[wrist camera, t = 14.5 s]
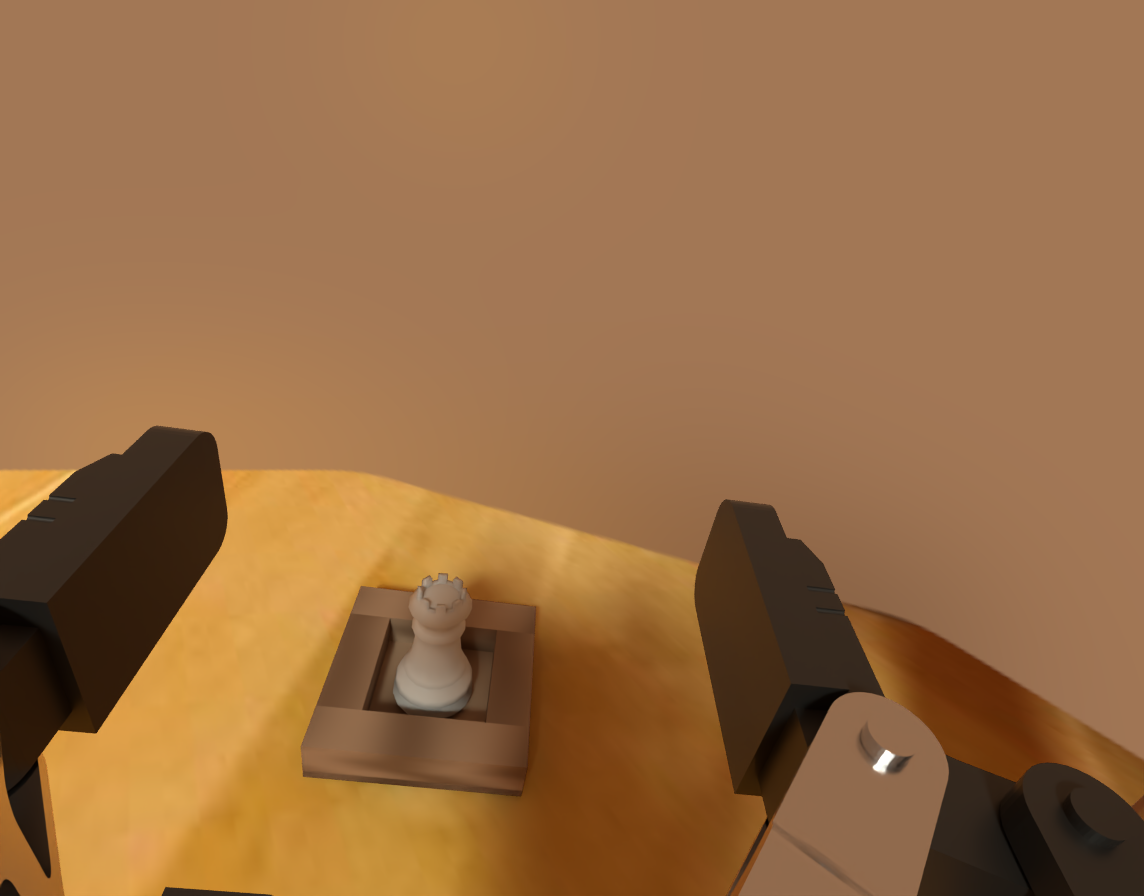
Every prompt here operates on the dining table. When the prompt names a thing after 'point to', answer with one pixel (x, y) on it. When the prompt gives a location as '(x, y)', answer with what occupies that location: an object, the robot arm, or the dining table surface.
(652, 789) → the dining table surface
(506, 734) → the square tray
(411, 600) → the rook chess piece
